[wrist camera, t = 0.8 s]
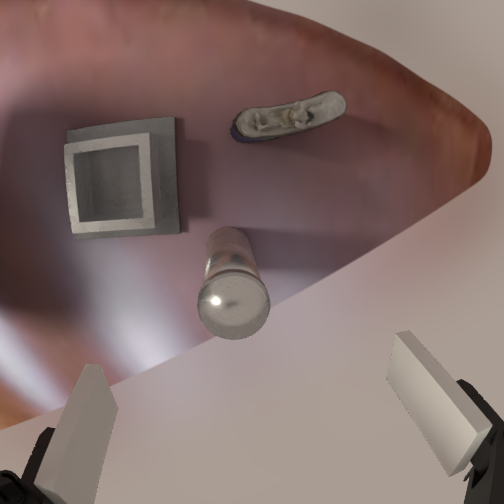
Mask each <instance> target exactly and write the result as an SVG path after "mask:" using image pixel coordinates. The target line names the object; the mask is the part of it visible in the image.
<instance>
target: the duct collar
mask: <svg viewBox="0 0 504 504" xmlns="http://www.w3.org/2000/svg"><path fill="white" fill-rule="evenodd" d="M66 139H67V144H64V162H65V176H66V188H67V198H68V206H69V215H70V222H71V229H72V233H75V236H76V240H79V239H95V238H111V237H128V236H147V235H166V234H180V232H181V230H180V216H179V200H178V181H177V158H176V121H175V117H174V116H173V117H161V118H151V119H142V120H133V121H125V122H117V123H110V124H103V125H97V126H91V127H85V128H79V129H74V130H68V131H66Z"/></svg>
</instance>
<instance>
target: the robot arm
mask: <svg viewBox="0 0 504 504" xmlns="http://www.w3.org/2000/svg"><path fill="white" fill-rule="evenodd" d="M386 379H387V381H388V382H389V384H390V385H391V387H392V388H393V390H394V391H395V393H396V394H397V396H398V397H399V399H400V400H401V402H402V403H403V405H404V407H405V408H406V410H407V411H408V413H409V414H410V416H411V417H412V419H413V420H414V422H415V423H416V425H417V427H418V428H419V430H420V431H421V432H422V434H423V436H424V438H425V439H426V441H427V442H428V444H429V445H430V447H431V449H432V450H433V452H434V453H435V455H436V457H437V458H438V460H439V461H440V463H441V465H442V466H443V468H444V469H445V471H446V473H447V474H448V476H449V477H450V476H452V475H454V474H456V473H458V472H460V471H462V470H464V469H465V467H466V466H467V465H468V463H469V462H470V461H471V463H472V464H473V467H472V468H471V470H470V471H469V472H468V474H467V475H466V476H465V478H464V480H463V481H466V480H467V479H468V477H469V476H470V477H469V482H468V487H467V491H466V496H465V500H464V504H504V421H503V420H502V419H501V418H500V417H499V415H498V414H497V413H496V412H495V411H494V410H493V409H492V408H491V406H490V405H489V404H488V403H487V402H486V401H485V400H484V399H483V397H482V396H481V395H480V394H478V392H477V390H476V389H475V388H474V387H473V386H472V385H471V384H469V383H468V382H466V381H464V380H462V379H461V380H458V381H455V380H454V379H453V378H452V377H451V376H450V375H449V373H448V372H447V371H446V370H445V369H444V368H443V367H442V366H441V364H440V363H439V362H438V361H437V360H436V359H435V358H434V357H433V356H432V355H431V354H430V352H429V351H428V350H427V349H426V348H425V347H424V346H423V345H422V344H421V342H420V341H419V340H418V339H417V338H416V337H415V336H414V335H413V334H412V333H411V332H410V331H405V332H401V333H396V334H395V340H394V345H393V350H392V355H391V359H390V364H389V369H388V373H387V377H386ZM117 411H118V406H117V404H116V402H115V399H114V397H113V394H112V392H111V390H110V387H109V385H108V382H107V380H106V377H105V375H104V372H103V369H102V367H101V364H86V365H85V367H84V369H83V371H82V373H81V375H80V377H79V379H78V381H77V383H76V385H75V387H74V389H73V391H72V393H71V395H70V398H69V400H68V402H67V404H66V406H65V409H64V411H63V413H62V415H61V417H60V420H59V422H58V424H57V426H56V428H50V427H47V428H46V429H45V430H44V431H43V432H42V433H41V434H40V436H39V438H38V440H37V442H36V444H35V447H34V449H33V451H32V455H31V456H30V458H29V460H28V463H27V465H26V468H25V470H24V473H23V475H22V478H21V479H20V478H19V477H18V476H17V475H16V474H15V473H13V472H12V471H8V470H3V471H0V504H94V501H95V496H96V492H97V488H98V483H99V479H100V475H101V471H102V466H103V463H104V458H105V455H106V451H107V447H108V444H109V440H110V436H111V433H112V429H113V425H114V422H115V418H116V415H117Z"/></svg>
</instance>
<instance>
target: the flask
mask: <svg viewBox="0 0 504 504" xmlns="http://www.w3.org/2000/svg"><path fill="white" fill-rule="evenodd" d="M345 112H346V100H345V98H344V97H343V96H342V95H341V94H340V93H338V91H324V92H321V93H319V94H317V95H315V96H313V97H311V98H308V99H305V100H300V101H297V102H292V103H288V104H283V105H278V106H271V107H255V108H248V109H245V110H243V111H242V112H240V113H239V114H238V115H237V116H236V118H235V119H234V120H233V125H232V128H231V129H230V130H231V135H232V137H233V138H234V139H235V140H236V141H237V142H240V143H253V142H262V141H267V140H271V139H276V138H279V137H281V136H286V135H291V134H295V133H300V132H304V131H306V130H310V129H313V128H316V127H319V126H322V125H324V124H326V123H328V122H331V121H333V120H335V119H338V118H339V117H340V116H342V115H343V114H344V113H345Z"/></svg>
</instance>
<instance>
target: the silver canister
mask: <svg viewBox="0 0 504 504" xmlns="http://www.w3.org/2000/svg"><path fill="white" fill-rule="evenodd" d="M197 308H198V313H199V317H200V319H201V321H202V322H203V323H204V325H205V326H206V328H207V329H208V330H209V331H210V332H212V333H213V334H215V335H216V336H218V337H221V338H225V339H230V340H231V339H232V340H236V339H243V338H246V337H249V336H251V335H253V334H254V333H256V332H257V331H258V330H259V329H260V328H261V327H262V326H263V325H264V323H265V321H266V319H267V317H268V314H269V311H270V299H269V295H268V292H267V289H266V287H265V285H264V284H263V282H262V281H261V279H260V275H259V272H258V269H257V265H256V262H255V259H254V256H253V252H252V249H251V246H250V243H249V240H248V238H247V236H246V235H245V234H244V233H243V232H242V231H241V230H239V229H237V228H234V227H224V228H220V229H218V230H217V231H215V232H214V233H213V234H212V235H211V236H210V238H209V240H208V243H207V251H206V259H205V267H204V276H203V285H202V287H201V289H200V292H199V296H198V304H197Z"/></svg>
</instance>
